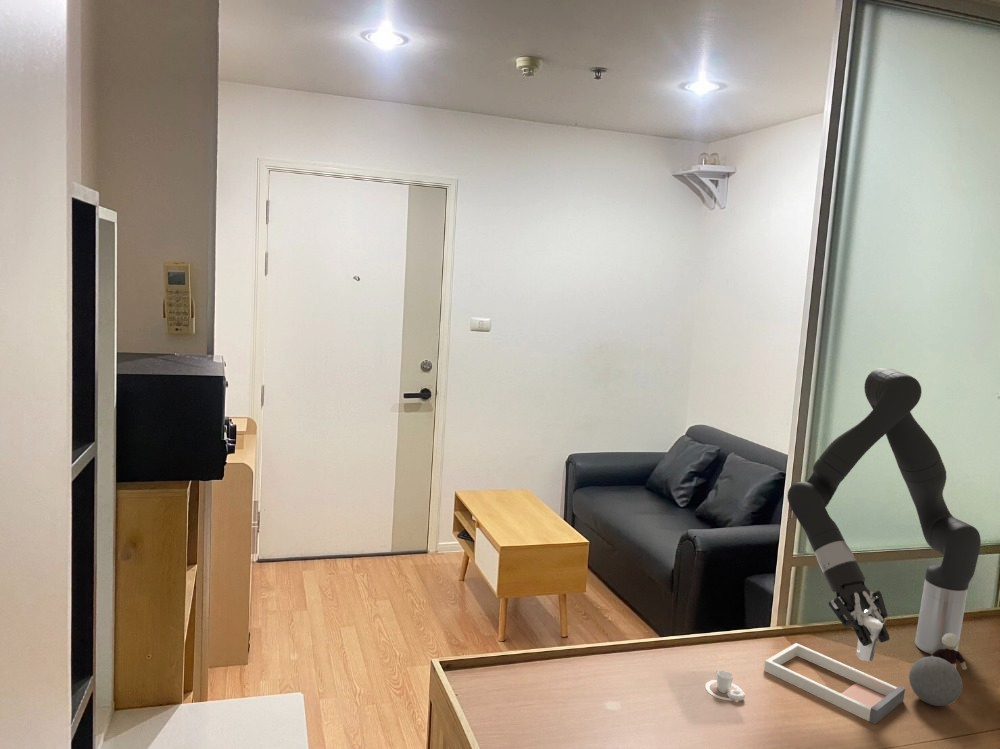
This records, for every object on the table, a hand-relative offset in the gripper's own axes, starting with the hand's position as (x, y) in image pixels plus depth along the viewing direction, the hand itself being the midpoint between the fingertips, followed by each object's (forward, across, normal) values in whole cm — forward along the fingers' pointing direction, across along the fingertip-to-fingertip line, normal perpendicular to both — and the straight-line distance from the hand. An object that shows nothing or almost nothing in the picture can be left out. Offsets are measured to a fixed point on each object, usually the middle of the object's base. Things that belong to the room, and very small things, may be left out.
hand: (876, 642), depth 166 cm
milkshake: (+2, 0, +5) cm, 5 cm away
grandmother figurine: (+11, +23, +9) cm, 27 cm away
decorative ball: (+13, +14, +7) cm, 21 cm away
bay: (+4, -2, +16) cm, 16 cm away
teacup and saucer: (+2, -29, +20) cm, 35 cm away
